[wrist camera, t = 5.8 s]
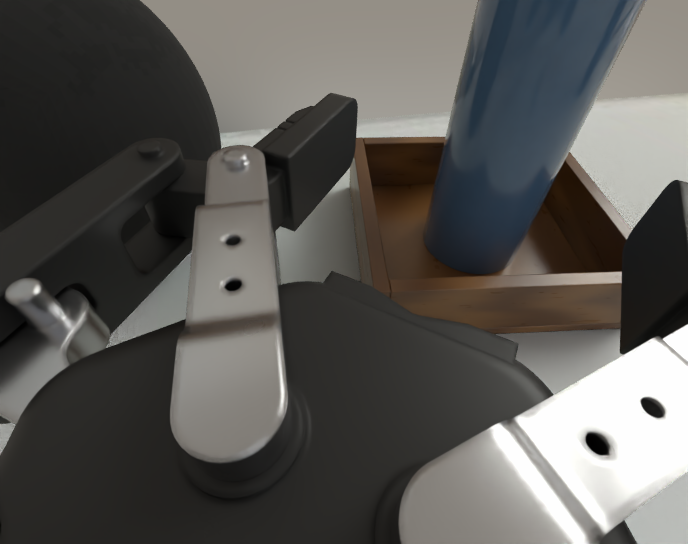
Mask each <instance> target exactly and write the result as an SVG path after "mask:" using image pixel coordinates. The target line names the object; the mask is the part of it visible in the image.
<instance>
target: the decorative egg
mask: <svg viewBox="0 0 688 544" xmlns="http://www.w3.org/2000/svg"><path fill="white" fill-rule="evenodd" d="M149 138H167V139H171V140H173V141H175V142H176V143H178V145H179V146H180V150H181V153H182V156H183V159H191V160H203V161H208V159H209V157H210V156H211V155H212V154H213V153H214V152H216V151H218V150H220V149H221V140H220V133H219V127H218V123H217V119H216V115H215V112H214V108H213V105H212V102H211V100H210V97H209V94H208V92H207V89H206V87H205V85H204V82H203V80H202V78H201V76H200V75H199V73H198V71H197V69H196V67H195V65H194V64H193V62H192V60H191V59H190V58H189V56H188V54H187V52H186V51H185V50H184V48H183V47H182V45H181V44H180V43H179V41H178V40H177V39H176V37H175V36H174V35H173V34H172V33H171V31H170V30H169V29H168V28H167V27H166V25H165V24H164V23H163V22H162V21H161V20H160V19H159V18H158V17H157V16H156V15H155V14H154V13H153V12H152V11H151V10H150V9H149V8H148V7H147V6H146V5H144V4H143V3H142V2H141V1H140V0H0V232H1V231H3V230H4V229H6V228H7V227H9V226H10V225H12V224H13V223H15V222H16V221H18V220H19V219H21V218H22V217H24V216H25V215H27V214H28V213H30V212H31V211H33V210H34V209H36V208H37V207H39V206H40V205H42V204H43V203H45V202H46V201H48V200H49V199H51V198H52V197H54V196H55V195H57V194H58V193H60V192H61V191H63V190H64V189H65V188H67V187H68V186H70V185H71V184H73V183H74V182H76V181H77V180H79V179H80V178H82V177H83V176H85V175H86V174H88V173H89V172H91V171H92V170H94V169H95V168H97V167H98V166H100V165H101V164H103V163H104V162H106V161H107V160H109V159H110V158H112V157H113V156H115V155H116V154H118V153H119V152H121V151H122V150H124V149H125V148H127V147H128V146H130V145H131V144H133V143H135V142H138V141H141V140H144V139H149ZM150 221H151V220H150V217H149V215H148V213H147V211H146V209H145V206H144V207H142V208H141V209H140V210H139V211H138V212H136V213H135V214H134V215H133V216H132V217H130V218H129V219H128V220H127V221H126V222H125V223H124V225H123V227H122V229H121V240H122V242H123V244H125V243H126V242H127V241H128V240H129V239H130V238H132V237H133V236H134V235H135V234H136V233H137V232H138V231H140V230H141V229H142V228H143V227H144V226H145V225H147V224H148V223H149V222H150Z"/></svg>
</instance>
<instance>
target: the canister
mask: <svg viewBox="0 0 688 544" xmlns="http://www.w3.org/2000/svg"><path fill="white" fill-rule="evenodd" d="M646 1H647V0H478V2H477V6H476V10H475V15H474V19H473V23H472V27H471V31H470V36H469V40H468V44H467V49H466V53H465V57H464V61H463V65H462V69H461V74H460V78H459V82H458V86H457V90H456V95H455V99H454V103H453V107H452V111H451V116H450V120H449V124H448V128H447V133H446V137H445V141H444V145H443V149H442V154H441V158H440V162H439V166H438V170H437V175H436V179H435V183H434V187H433V192H432V196H431V200H430V204H429V208H428V213H427V217H426V221H425V225H424V230H423V239H424V243H425V245H426V247H427V249H428V250H429V252H430V253H431V254H432V255H433V256H434V257H435V258H436V259H437V260H439V261H440V262H441V263H443V264H445V265H446V266H448V267H450V268H453V269H455V270H458V271H461V272H465V273H470V274H490V273H495V272H498V271H500V270H502V269H504V268H506V267H507V266H509V265H510V264H511V263H512V262H513V260H514V259H515V257H516V255H517V253H518V251H519V249H520V247H521V245H522V243H523V241H524V239H525V237H526V235H527V233H528V231H529V229H530V227H531V225H532V223H533V221H534V220H535V218H536V216H537V214H538V212H539V210H540V208H541V206H542V204H543V202H544V200H545V198H546V196H547V194H548V192H549V190H550V188H551V186H552V184H553V182H554V180H555V179H556V177H557V175H558V173H559V171H560V169H561V167H562V165H563V163H564V161H565V159H566V157H567V155H568V153H569V151H570V149H571V147H572V145H573V143H574V141H575V140H576V138H577V136H578V134H579V132H580V130H581V128H582V126H583V124H584V122H585V120H586V118H587V116H588V114H589V112H590V110H591V108H592V106H593V104H594V102H595V100H596V99H597V97H598V95H599V93H600V91H601V89H602V87H603V85H604V83H605V81H606V79H607V77H608V75H609V73H610V71H611V69H612V67H613V65H614V63H615V61H616V59H617V57H618V56H619V54H620V52H621V50H622V48H623V46H624V44H625V42H626V40H627V38H628V36H629V34H630V32H631V30H632V28H633V26H634V24H635V22H636V20H637V18H638V17H639V14H640V12H641V11H642V9H643V7H644V5H645V3H646Z"/></svg>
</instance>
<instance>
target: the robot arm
mask: <svg viewBox="0 0 688 544" xmlns="http://www.w3.org/2000/svg"><path fill="white" fill-rule="evenodd" d="M357 108H358V107H357V101H356V99H354V98H350V97H346V96H342V95H338V94H333V93H330V94H328V95H327V96H326V97H325V98H323V99H322V100H321V101H320V102H319V103H317V104H316V105H315V106H310V107H307V108H304V109H301V110H299V111H296V112H295V113H294V114H293V115H291V116H290V117H289V118H287V119H286V122H283V123H281V124H280V125H279V126H278V128H275V129H274V130H273V131H271V132H270V133H269V134H268V135H267V136H265V137H264V138H263V139H262V140H260V141H259V142H258V143H257V144H255V145H254V146H253V147H250V146H244V145H235V146H229V147H225V148H222V149H220V150H218V151H216V152H214V153H213V154H212V155H211V156H210V157H209V159H208V161H203V160H191V159H183V156H182V153H181V150H180V146H179V145H178V143H176V142H175V141H173V140H171V139H167V138H149V139H144V140H141V141H138V142H135V143H133V144H131V145H130V146H128V147H127V148H125V149H124V150H122V151H121V152H119V153H118V154H116V155H115V156H113V157H112V158H110V159H109V160H107V161H106V162H104V163H103V164H101V165H100V166H98V167H97V168H95V169H94V170H92V171H91V172H89V173H88V174H86V175H85V176H83V177H82V178H80V179H79V180H77V181H76V182H74V183H73V184H71V185H70V186H68V187H67V188H65V189H64V190H63V191H61V192H60V193H58V194H57V195H55V196H54V197H52V198H51V199H49V200H48V201H46V202H45V203H43V204H42V205H40V206H39V207H37V208H36V209H34V210H33V211H31V212H30V213H28V214H27V215H25V216H24V217H22V218H21V219H19V220H18V221H16V222H15V223H13V224H12V225H10V226H9V227H7V228H6V229H4V230H3V231H1V232H0V424H6V423H14V424H16V426H15V428H14V430H13V432H12V434H11V436H10V438H9V440H8V442H7V444H6V446H5V448H4V450H3V452H2V453H1V455H0V544H637V543H636V541H635V539H634V537H633V535H632V533H631V532H630V530H629V528H628V526H627V524H626V522H625V521H624V519H626V518H627V517H628V516H630V515H631V514H632V513H633V512H635V511H636V510H637V509H639V508H640V507H641V506H643V505H644V504H645V503H646V502H648V501H649V500H650V499H652V498H653V497H654V496H656V495H657V494H658V493H659V492H661V491H662V490H663V489H665V488H666V487H667V486H669V485H670V484H671V483H672V482H674V481H675V480H676V479H678V478H679V477H680V476H682V475H683V474H684V473H685V472H687V471H688V183H687V182H683V181H679V180H674V181H672V182H671V183H670V184H669V185H668V186H667V187H666V188H665V189H664V190H663V191H662V193H661V194H660V195H659V197H658V198H657V199H656V200H655V202H654V203H653V204H652V206H651V207H650V208H649V209H648V211H647V212H646V213H645V214H644V216H643V217H642V218H641V220H640V221H639V222H638V223H637V225H636V226H635V227H634V229H633V230H632V231H631V233H630V234H629V236H628V238H627V240H626V242H625V245H624V248H623V252H622V287H621V330H620V353H621V354H623V356H621V357H619V358H618V359H616V360H614V361H612V362H611V363H609V364H607V365H605V366H604V367H602V368H600V369H599V370H597V371H595V372H593V373H592V374H590V375H588V376H586V377H585V378H583V379H581V380H579V381H578V382H576V383H574V384H572V385H571V386H569V387H567V388H565V389H564V390H562V391H560V392H558V393H557V394H555V395H553V393H552V392H551V391H550V390H549V389H548V387H547V386H546V385H545V384H544V383H543V382H542V381H541V380H540V379H539V378H538V377H537V376H536V375H535V374H534V373H533V372H531V371H530V370H529V369H528V368H526V367H525V366H524V365H523V364H521V363H520V362H518V361H517V360H515V358H516V353H517V349H518V343H515V342H513V341H510V340H508V339H505V338H502V337H500V336H497V335H495V334H492V333H490V332H487V331H485V330H482V329H479V328H477V327H474V326H472V325H469V324H465V323H460V322H454V321H448V320H443V319H437V318H431V317H425V316H420V315H416V314H413V313H411V312H410V311H408V310H407V309H405V308H404V307H402V306H401V305H399V304H398V303H396V302H395V301H393V300H392V299H390V298H389V297H387V296H386V295H384V294H383V293H381V292H380V291H378V290H377V289H375V288H374V287H372V286H369V285H367V284H364V283H362V282H359V281H357V280H354V279H352V278H349V277H346V276H344V275H341V274H339V273H336V272H334V271H331V273H330V274H329V275H328V277H327V278H326V280H325V281H324V283H322V282H310V281H305V282H293V283H286V284H282V285H281V276H280V267H279V259H278V250H277V241H276V234H275V231H276V230H277V229H278V228H279V227H280V226H282V227H284V228H287V229H290V230H292V231H296V230H297V228H298V227H299V226H300V225H301V224H302V223H303V221H304V220H305V219H306V218H307V217H308V216H309V214H310V213H311V212H312V211H313V210H314V209H315V207H316V206H317V205H318V204H319V203H320V202H321V200H322V199H323V198H324V197H325V196H326V195H327V193H328V192H329V191H330V190H331V189H332V188H333V186H334V185H335V184H336V183H337V182H338V181H339V179H340V178H341V177H342V176H343V175H344V174H345V172H346V171H347V170H348V169H349V167H350V166H351V164H352V161H353V158H354V154H355V147H356V129H357ZM144 206H145V209H146V211H147V213H148V215H149V217H150V220H151V221H150V222H149V223H148V224H147V225H145V226H144V227H143V228H142V229H141V230H140V231H138V232H137V233H136V234H135V235H134V236H133V237H132V238H130V239H129V240H128V241H127V242H126V243H125V244H123V242H122V240H121V229H122V227H123V225H124V223H125V222H126V221H127V220H128V219H129V218H130V217H132V216H133V215H134V214H135V213H136V212H138V211H139V210H140V209H141V208H142V207H144ZM191 251H192V255H191V267H190V278H189V290H188V301H187V313H186V319H185V320H182V321H179V322H177V323H174V324H171V325H168V326H166V327H163V328H160V329H158V330H155V331H152V332H149V333H147V334H144V335H141V336H138V337H136V338H133V339H130V340H128V341H125V342H122V343H119V344H117V345H114V346H111V347H109V348H106V347H107V345H108V342H109V339H110V335H111V334H112V333H113V332H114V330H115V329H116V328H117V327H118V326H119V325H120V324H121V323H122V322H123V321H124V320H125V319H126V318H127V317H128V316H129V315H130V314H131V313H132V312H133V311H134V310H135V309H136V308H137V307H138V306H139V305H140V303H141V302H142V301H143V300H144V299H145V298H146V297H147V296H148V295H149V294H150V293H151V292H152V291H153V290H154V289H155V288H156V287H157V286H158V285H159V284H160V283H161V282H162V281H163V280H164V279H165V278H166V276H167V275H168V274H169V273H170V272H171V271H172V270H173V269H174V268H175V267H176V266H177V265H178V264H179V263H180V262H181V261H182V260H183V259H184V258H185V257H186V256H187V255H188V254H189V253H190V252H191Z"/></svg>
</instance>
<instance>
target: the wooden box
mask: <svg viewBox="0 0 688 544" xmlns="http://www.w3.org/2000/svg"><path fill="white" fill-rule="evenodd" d="M444 141H445V137H389V138H356V147H355V154H354V158H353V161H352V164H351V166H350V194H351V202H352V210H353V219H354V227H355V235H356V244H357V252H358V260H359V268H360V277H361V282H362V283H364V284H367V285H369V286H372V287H374V288H375V289H377V290H378V291H380V292H381V293H383V294H384V295H386V296H387V297H389V298H390V299H392V300H393V301H395V302H396V303H398V304H399V305H401V306H402V307H404V308H405V309H407V310H408V311H410V312H411V313H413V314H416V315H420V316H425V317H431V318H437V319H443V320H448V321H454V322H460V323H465V324H469V325H472V326H474V327H477V328H479V329H482V330H485V331H487V332H490V333H492V334H501V333H524V332H547V331H570V330H593V329H616V328H621V287H622V252H623V248H624V245H625V242H626V240H627V238H628V236H629V234H630V233H631V231H632V229H631V228H630V226H629V225H628V224H627V223H626V221H625V220H624V219H623V218H622V216H621V215H620V214H619V213H618V211H617V210H616V209H615V208H614V206H613V205H612V204H611V203H610V202H609V200H608V199H607V198H606V197H605V195H604V194H603V193H602V192H601V190H600V189H599V188H598V187H597V185H596V184H595V183H594V182H593V180H592V179H591V178H590V177H589V175H588V174H587V173H586V172H585V171H584V169H583V168H582V167H581V166H580V164H579V163H578V162H577V161H576V159H575V158H574V157H573V156H572V154H571V153H570V152H569V153H568V155H567V157H566V159H565V161H564V163H563V165H562V167H561V169H560V171H559V173H558V175H557V177H556V179H555V180H554V182H553V184H552V186H551V188H550V190H549V192H548V194H547V196H546V198H545V200H544V202H543V204H542V206H541V208H540V210H539V212H538V214H537V216H536V218H535V220H534V221H533V223H532V225H531V227H530V229H529V231H528V233H527V235H526V237H525V239H524V241H523V243H522V245H521V247H520V249H519V251H518V253H517V255H516V257H515V259H514V260H513V262H512V263H511V264H510V265H509V266H507V267H506V268H504V269H502V270H500V271H498V272H495V273H490V274H470V273H465V272H461V271H458V270H455V269H453V268H450V267H448V266H446V265H445V264H443V263H441V262H440V261H439V260H437V259H436V258H435V257H434V256H433V255H432V254H431V253H430V252H429V250H428V249H427V247H426V245H425V243H424V239H423V230H424V225H425V221H426V217H427V213H428V208H429V204H430V200H431V196H432V192H433V187H434V183H435V179H436V175H437V170H438V166H439V162H440V158H441V154H442V149H443V145H444Z"/></svg>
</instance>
